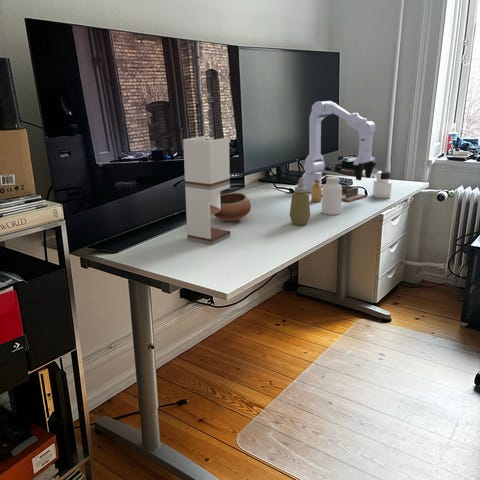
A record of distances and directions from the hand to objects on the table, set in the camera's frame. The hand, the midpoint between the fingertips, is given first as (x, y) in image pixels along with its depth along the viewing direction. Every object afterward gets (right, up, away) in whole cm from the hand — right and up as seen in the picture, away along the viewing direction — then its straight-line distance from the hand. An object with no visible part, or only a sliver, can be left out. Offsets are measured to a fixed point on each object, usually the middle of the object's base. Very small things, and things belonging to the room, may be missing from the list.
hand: (363, 178), depth 223 cm
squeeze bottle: (-33, -22, -32) cm, 51 cm away
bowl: (-60, -20, -27) cm, 68 cm away
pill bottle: (-18, -17, -17) cm, 30 cm away
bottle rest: (-7, -7, +10) cm, 14 cm away
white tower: (-67, -28, -49) cm, 88 cm away
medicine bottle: (+12, -7, +11) cm, 17 cm away
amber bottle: (-21, -10, +2) cm, 24 cm away
